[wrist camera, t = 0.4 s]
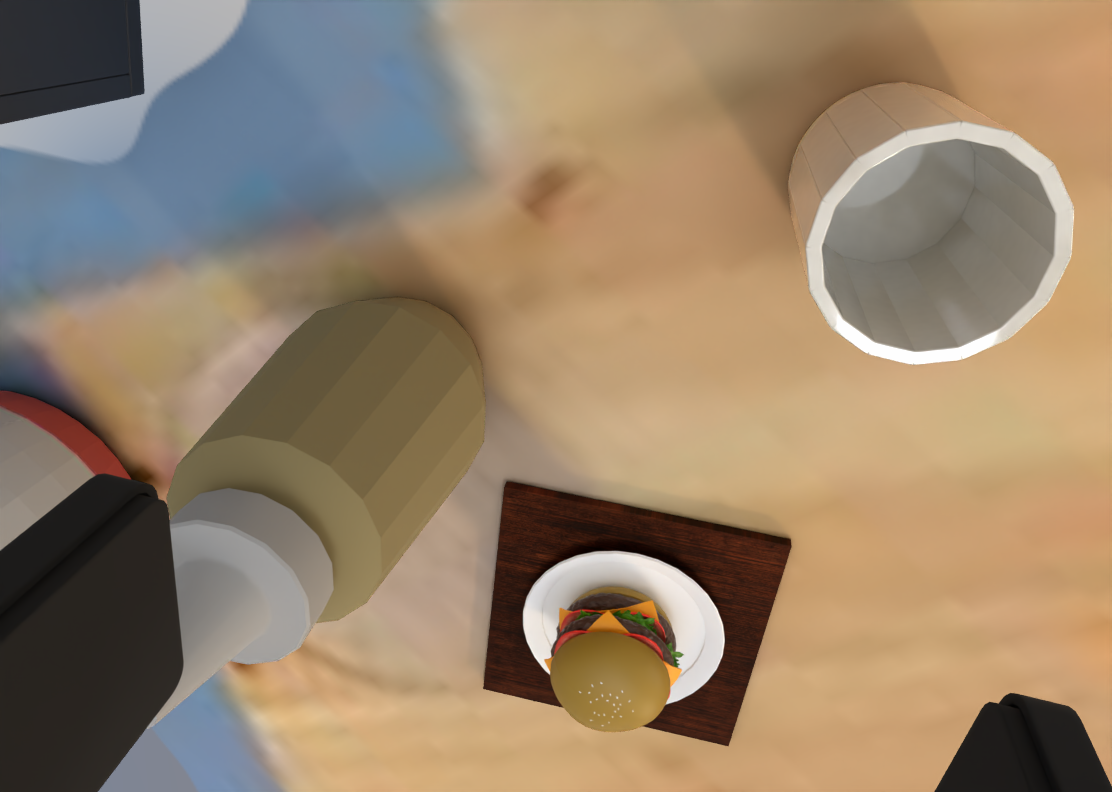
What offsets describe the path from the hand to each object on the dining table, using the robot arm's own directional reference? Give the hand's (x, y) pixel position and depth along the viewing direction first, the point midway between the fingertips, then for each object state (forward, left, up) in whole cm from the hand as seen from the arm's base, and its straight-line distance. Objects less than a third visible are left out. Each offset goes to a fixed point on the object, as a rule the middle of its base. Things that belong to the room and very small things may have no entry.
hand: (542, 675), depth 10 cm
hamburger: (+19, +3, -22) cm, 29 cm away
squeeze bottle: (+9, -8, -22) cm, 25 cm away
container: (-2, +7, -22) cm, 23 cm away
